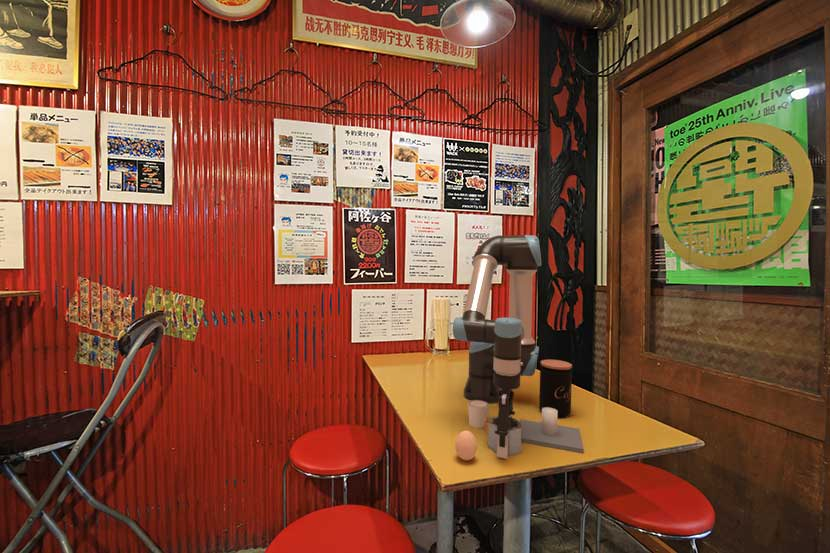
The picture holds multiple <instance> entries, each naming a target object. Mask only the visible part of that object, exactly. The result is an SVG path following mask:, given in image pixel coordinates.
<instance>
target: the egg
mask: <svg viewBox="0 0 830 553" xmlns="http://www.w3.org/2000/svg"><path fill="white" fill-rule="evenodd" d="M454 447H455V452H456V454H457V456H458V457H459V458H460V459H461V460H463V461H470V460H472V459H473V458H474V457H475V456H476V454H477V451H478V442H477V440H476V437H475V435H474V434H473V433H472V432H471V431H470V430H463V431H461V432H460V433H459V434H458V436H457V437H456V440H455V445H454Z"/></svg>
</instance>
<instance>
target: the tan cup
mask: <svg viewBox="0 0 830 553" xmlns="http://www.w3.org/2000/svg"><path fill="white" fill-rule="evenodd" d="M489 407H490V403H487V402H485V401H481V400H468V402H467V410H468V411H467V412H468V424H469V426H470V427H472V428H475V429H484V422H485V421H487V422H488V414H489Z"/></svg>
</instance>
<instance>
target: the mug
mask: <svg viewBox="0 0 830 553" xmlns="http://www.w3.org/2000/svg"><path fill="white" fill-rule="evenodd" d="M497 424H498V416H493V417H490V418H489V420H487V421H485V422H484V428H483V432H486V433H487V434H488V436H487V437H488V438H487V440H488V441H487V447H488V449H489V450H492V451H493V453H495V454H497V434H495V431H497ZM500 430H501V429H500ZM507 432H508V454H507V456H514V455H518V454H522V453H521V452H522V443H523V442H522V423H521V422H520V420H518V419H516V418H515V417H512V418H511V417H509V418H508V431H507Z"/></svg>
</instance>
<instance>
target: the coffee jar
mask: <svg viewBox="0 0 830 553" xmlns="http://www.w3.org/2000/svg"><path fill="white" fill-rule="evenodd" d="M540 365H541V367H540V369H539V370H540V371H539V396H538V397H539V400H538V403H539V404H538V407H539V410H540V412H541V413H542V408H545V407H548V408H553V409H556V410H557V411H558V416H557V419H564V418H565V419H566V418H567V417H569V416H570V414H571V413H572V387H573V386H572V383H573V382H572V380H573V379H572V378H573V372H572V370H571V369H572V368H573V365H572V363H570V362H567V361H564V360H559V359H542V360H540Z"/></svg>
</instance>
